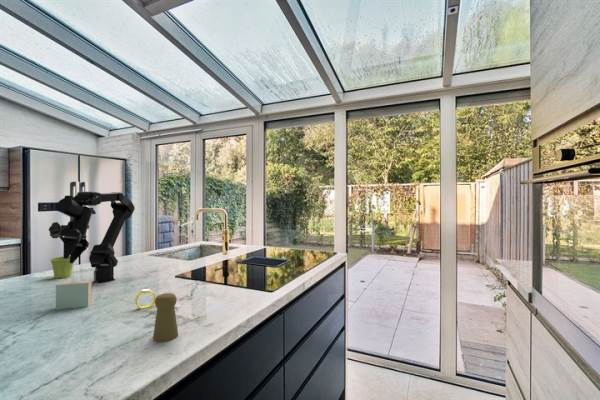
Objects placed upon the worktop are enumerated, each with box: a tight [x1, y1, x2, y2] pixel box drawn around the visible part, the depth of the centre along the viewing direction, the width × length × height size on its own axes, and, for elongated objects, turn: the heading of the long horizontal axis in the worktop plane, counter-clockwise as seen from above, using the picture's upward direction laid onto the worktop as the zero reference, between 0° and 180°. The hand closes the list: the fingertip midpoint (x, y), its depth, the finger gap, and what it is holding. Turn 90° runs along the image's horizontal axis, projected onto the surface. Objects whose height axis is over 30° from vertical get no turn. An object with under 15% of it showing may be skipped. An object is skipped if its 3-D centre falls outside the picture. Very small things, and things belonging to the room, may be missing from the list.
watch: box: [134, 288, 157, 310], centre depth 101 cm, size 6×3×6 cm, turn 127°
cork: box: [152, 292, 179, 343], centre depth 80 cm, size 6×6×11 cm
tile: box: [55, 280, 92, 310], centre depth 102 cm, size 3×9×8 cm, turn 108°
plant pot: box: [49, 256, 74, 279], centre depth 141 cm, size 9×9×9 cm
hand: (68, 261), depth 114 cm, fingers open, 9 cm apart
